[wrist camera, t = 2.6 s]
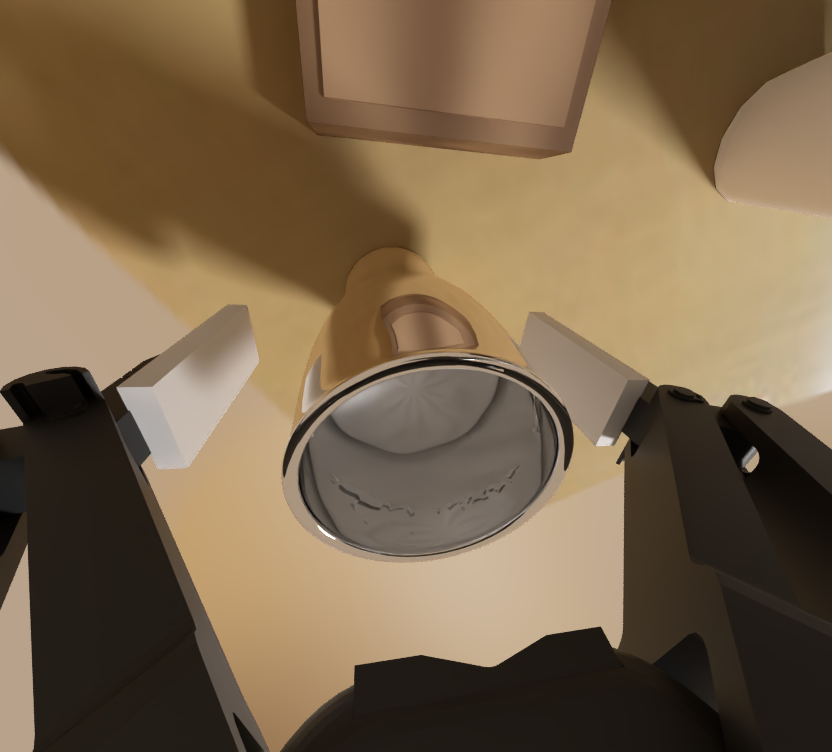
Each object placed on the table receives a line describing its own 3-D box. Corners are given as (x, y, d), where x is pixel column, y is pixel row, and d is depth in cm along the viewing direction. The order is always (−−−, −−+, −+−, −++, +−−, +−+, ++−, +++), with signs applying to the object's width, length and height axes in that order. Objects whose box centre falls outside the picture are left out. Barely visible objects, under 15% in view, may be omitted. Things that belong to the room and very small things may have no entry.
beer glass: (351, 352, 21) (321, 588, 8) (325, 246, 17) (202, 378, 5) (447, 337, 21) (560, 541, 9) (441, 231, 18) (619, 314, 5)
